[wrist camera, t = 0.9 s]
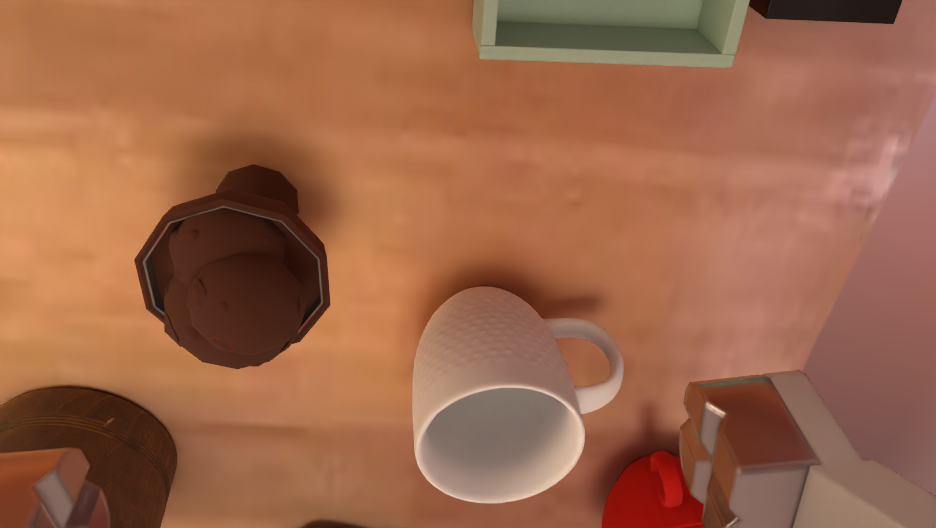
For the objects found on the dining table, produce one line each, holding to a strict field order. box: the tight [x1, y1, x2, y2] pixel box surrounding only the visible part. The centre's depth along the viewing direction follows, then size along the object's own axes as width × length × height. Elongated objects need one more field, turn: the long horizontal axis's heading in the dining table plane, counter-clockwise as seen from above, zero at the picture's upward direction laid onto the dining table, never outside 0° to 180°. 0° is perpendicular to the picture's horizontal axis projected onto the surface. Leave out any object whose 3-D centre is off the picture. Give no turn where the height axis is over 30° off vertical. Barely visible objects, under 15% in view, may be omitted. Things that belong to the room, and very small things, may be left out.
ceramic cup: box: [602, 451, 704, 528], centre depth 67 cm, size 13×17×10 cm
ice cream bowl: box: [135, 165, 330, 369], centre depth 46 cm, size 11×11×15 cm
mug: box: [412, 286, 624, 503], centre depth 55 cm, size 15×11×13 cm
